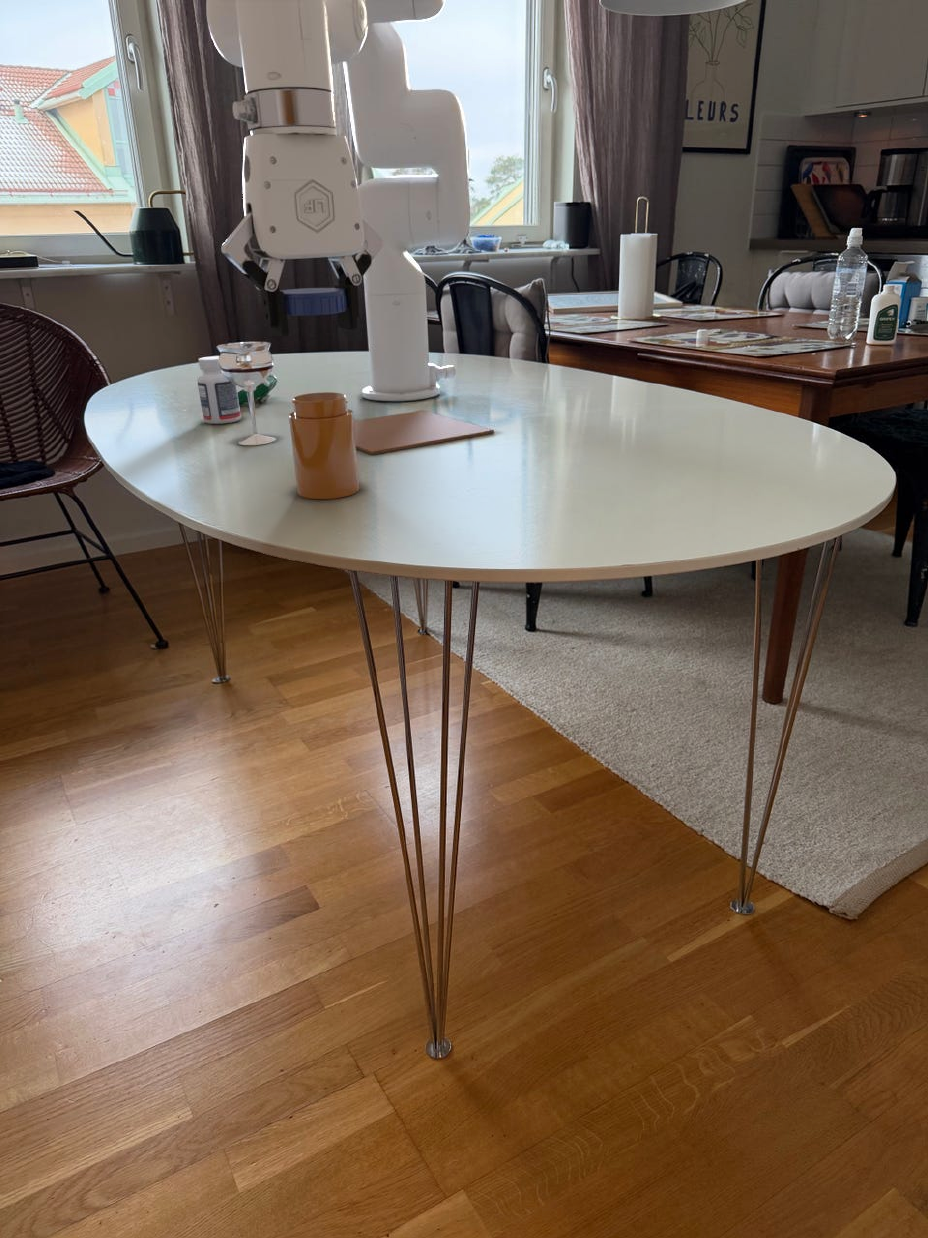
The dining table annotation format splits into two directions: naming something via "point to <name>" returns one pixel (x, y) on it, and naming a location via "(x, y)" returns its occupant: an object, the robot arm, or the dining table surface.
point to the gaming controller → (259, 391)
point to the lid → (315, 301)
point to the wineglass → (247, 375)
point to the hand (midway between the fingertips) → (314, 330)
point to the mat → (411, 431)
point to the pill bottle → (217, 393)
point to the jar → (324, 446)
